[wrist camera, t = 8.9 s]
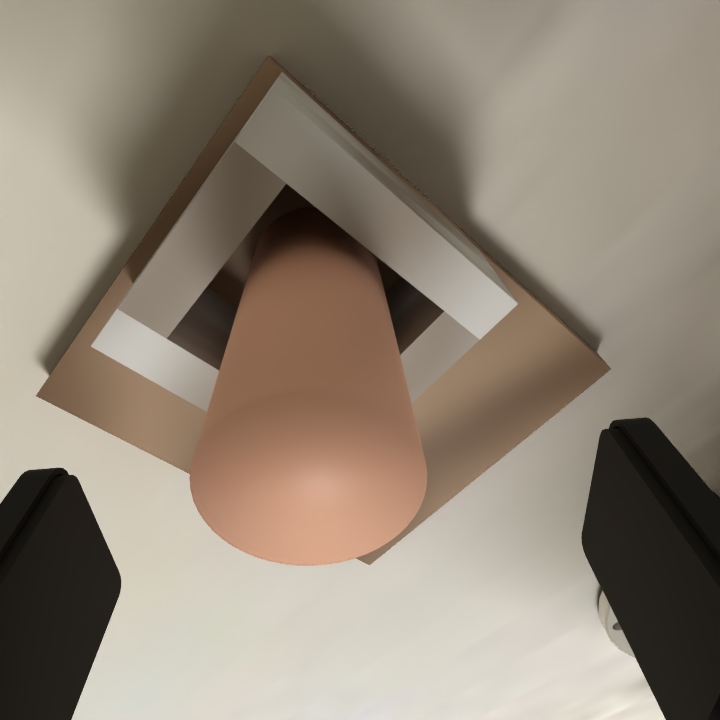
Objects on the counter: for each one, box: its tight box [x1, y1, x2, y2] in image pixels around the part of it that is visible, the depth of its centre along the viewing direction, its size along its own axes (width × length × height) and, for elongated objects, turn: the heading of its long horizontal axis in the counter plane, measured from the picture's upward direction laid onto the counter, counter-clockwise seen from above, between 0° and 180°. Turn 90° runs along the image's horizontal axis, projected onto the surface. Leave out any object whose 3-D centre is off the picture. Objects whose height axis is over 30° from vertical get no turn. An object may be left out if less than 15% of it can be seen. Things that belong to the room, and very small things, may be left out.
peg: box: [190, 207, 427, 566], centre depth 14 cm, size 4×4×10 cm
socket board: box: [36, 56, 611, 565], centre depth 19 cm, size 16×14×5 cm
